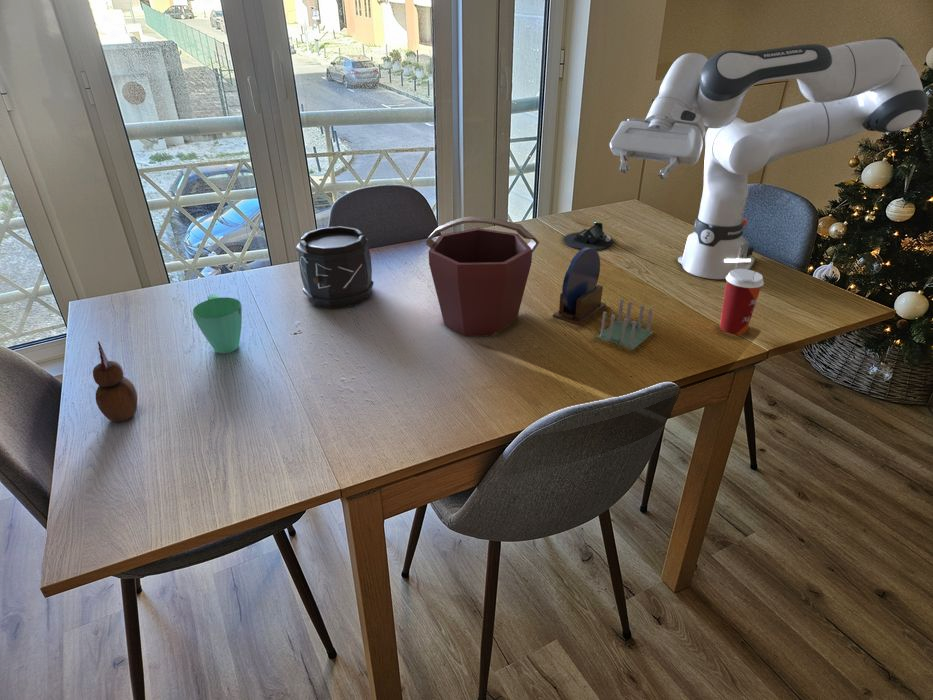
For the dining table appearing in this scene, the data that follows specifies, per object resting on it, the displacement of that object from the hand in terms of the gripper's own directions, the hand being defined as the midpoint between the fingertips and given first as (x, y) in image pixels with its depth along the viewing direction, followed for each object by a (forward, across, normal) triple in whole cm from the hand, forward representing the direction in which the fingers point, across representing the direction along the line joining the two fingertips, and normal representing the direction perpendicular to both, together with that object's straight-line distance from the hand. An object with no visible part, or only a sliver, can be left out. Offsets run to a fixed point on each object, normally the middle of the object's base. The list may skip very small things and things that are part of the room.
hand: (641, 174), depth 136 cm
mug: (+73, -61, -31) cm, 100 cm away
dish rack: (+34, +8, +11) cm, 37 cm away
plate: (+30, -7, +12) cm, 33 cm away
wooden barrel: (+51, -60, -8) cm, 79 cm away
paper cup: (+22, +25, +24) cm, 41 cm away
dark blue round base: (0, -29, +45) cm, 53 cm away
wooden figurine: (+92, -52, -50) cm, 117 cm away
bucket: (+43, -23, +1) cm, 49 cm away
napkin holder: (+31, -6, +13) cm, 35 cm away
